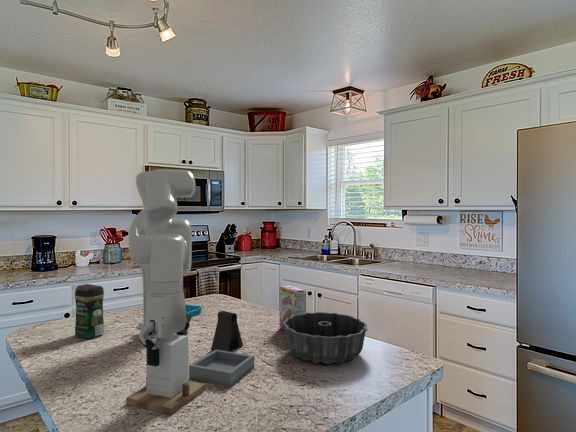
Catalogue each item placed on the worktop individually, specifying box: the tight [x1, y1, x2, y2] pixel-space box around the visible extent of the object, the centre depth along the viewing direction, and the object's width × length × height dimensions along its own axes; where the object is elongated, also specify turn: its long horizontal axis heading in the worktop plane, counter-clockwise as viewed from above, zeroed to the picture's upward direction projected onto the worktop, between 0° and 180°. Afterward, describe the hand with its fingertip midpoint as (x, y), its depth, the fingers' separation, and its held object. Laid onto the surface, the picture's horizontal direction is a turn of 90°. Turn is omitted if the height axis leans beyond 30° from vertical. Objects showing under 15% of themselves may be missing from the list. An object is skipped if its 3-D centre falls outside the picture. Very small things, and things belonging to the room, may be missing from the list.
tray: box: [188, 350, 255, 388], centre depth 107 cm, size 13×13×4 cm
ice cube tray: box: [185, 303, 204, 318], centre depth 165 cm, size 12×20×3 cm, turn 158°
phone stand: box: [210, 310, 244, 352], centre depth 127 cm, size 9×6×12 cm, turn 145°
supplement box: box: [145, 334, 190, 398], centre depth 94 cm, size 7×7×13 cm
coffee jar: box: [74, 283, 105, 340], centre depth 140 cm, size 10×8×19 cm
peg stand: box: [125, 375, 206, 416], centre depth 94 cm, size 13×13×4 cm
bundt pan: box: [283, 311, 368, 365], centre depth 122 cm, size 26×26×10 cm
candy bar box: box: [278, 285, 307, 331], centre depth 145 cm, size 11×5×16 cm, turn 35°
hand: (167, 358), depth 93 cm, fingers open, 9 cm apart
